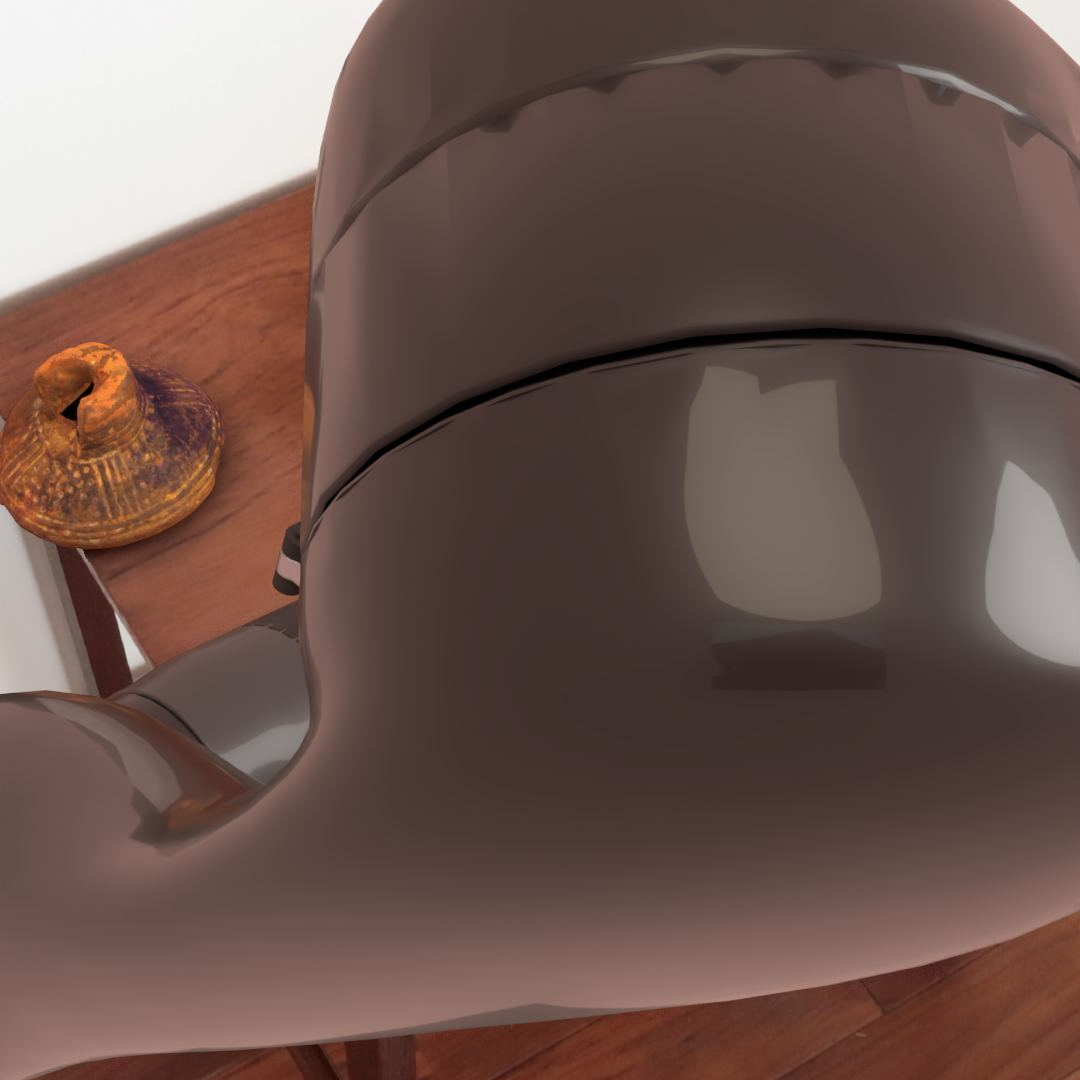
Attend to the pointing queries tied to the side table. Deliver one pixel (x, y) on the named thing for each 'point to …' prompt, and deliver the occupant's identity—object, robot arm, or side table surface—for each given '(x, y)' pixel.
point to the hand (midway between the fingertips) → (583, 573)
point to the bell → (107, 449)
